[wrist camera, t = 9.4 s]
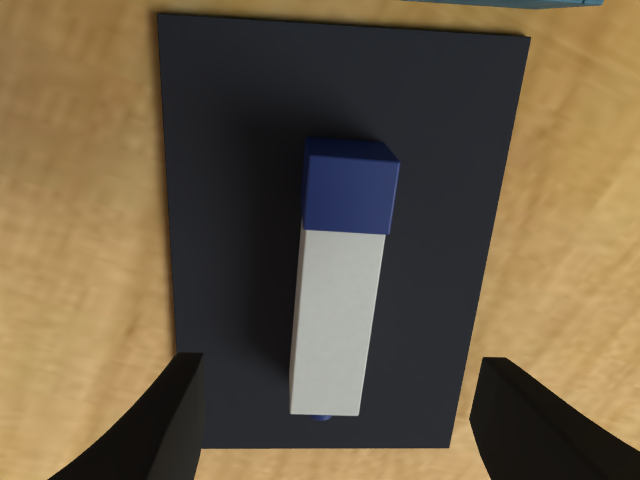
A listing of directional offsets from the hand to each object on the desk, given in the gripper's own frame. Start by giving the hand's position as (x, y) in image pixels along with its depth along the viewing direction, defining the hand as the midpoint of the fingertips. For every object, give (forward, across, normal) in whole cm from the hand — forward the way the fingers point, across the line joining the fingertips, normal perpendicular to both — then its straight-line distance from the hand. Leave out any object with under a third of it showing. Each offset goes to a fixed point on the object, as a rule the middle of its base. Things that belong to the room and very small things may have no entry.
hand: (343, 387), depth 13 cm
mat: (+9, 0, +1) cm, 9 cm away
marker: (+8, 0, +1) cm, 8 cm away
